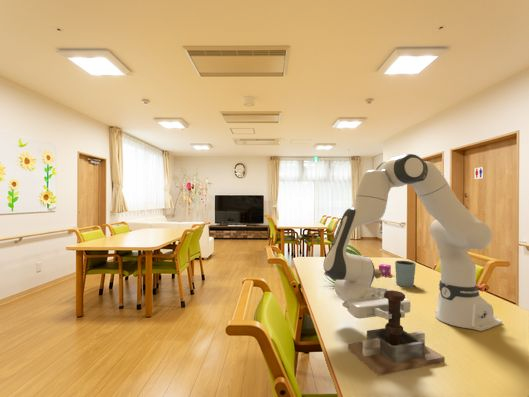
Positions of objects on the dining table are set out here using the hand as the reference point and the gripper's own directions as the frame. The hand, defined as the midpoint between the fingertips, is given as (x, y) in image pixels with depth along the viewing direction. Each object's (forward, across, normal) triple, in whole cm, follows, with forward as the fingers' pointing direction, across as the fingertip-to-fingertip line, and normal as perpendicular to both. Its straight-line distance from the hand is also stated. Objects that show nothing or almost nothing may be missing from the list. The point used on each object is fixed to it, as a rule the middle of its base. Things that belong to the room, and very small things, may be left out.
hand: (396, 316), depth 85 cm
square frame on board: (-1, 0, +12) cm, 12 cm away
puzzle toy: (-80, +61, +12) cm, 101 cm away
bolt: (-1, 0, +9) cm, 9 cm away
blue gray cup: (-59, +57, +12) cm, 83 cm away
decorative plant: (-64, +27, +12) cm, 70 cm away
